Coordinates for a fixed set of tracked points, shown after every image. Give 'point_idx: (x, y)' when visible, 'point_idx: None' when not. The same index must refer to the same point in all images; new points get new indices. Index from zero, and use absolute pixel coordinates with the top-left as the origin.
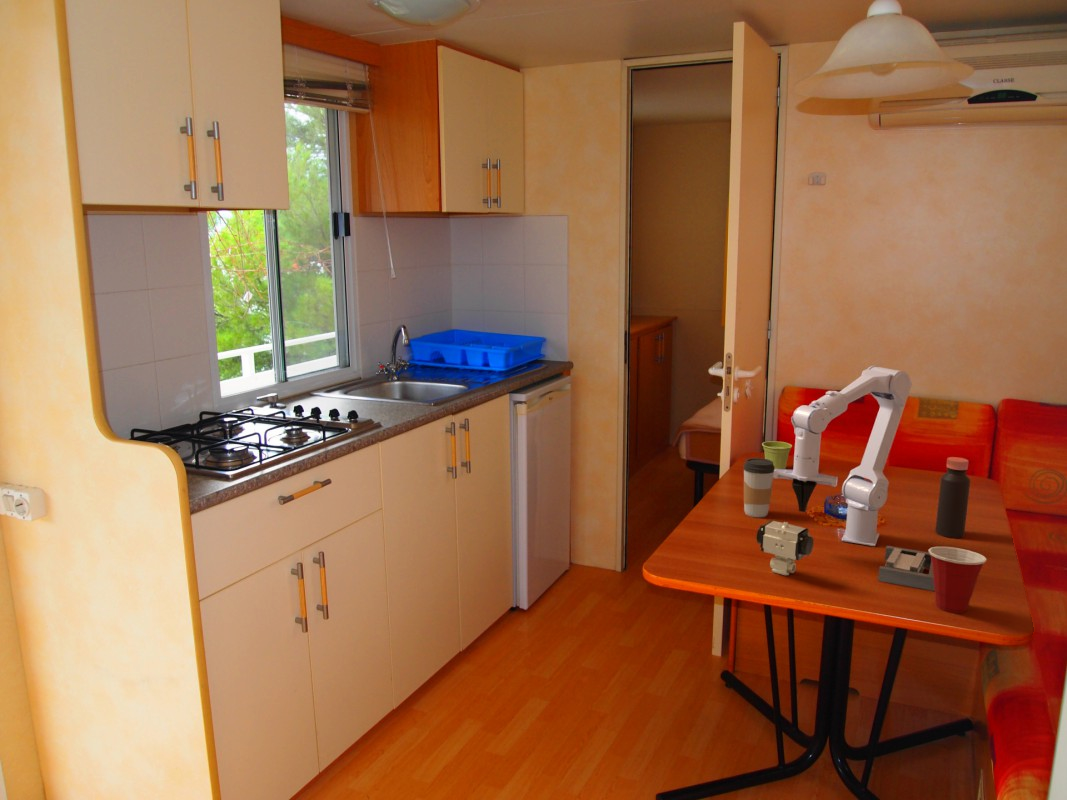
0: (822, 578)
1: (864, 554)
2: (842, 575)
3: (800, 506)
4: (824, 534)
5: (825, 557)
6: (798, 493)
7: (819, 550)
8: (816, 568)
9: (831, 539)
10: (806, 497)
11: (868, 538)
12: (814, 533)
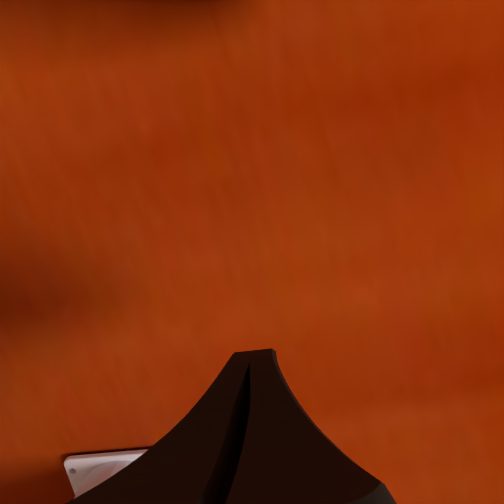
0: (64, 9)
1: (62, 374)
2: (21, 108)
3: (261, 365)
4: None
5: (156, 264)
6: (282, 436)
7: (203, 321)
8: (134, 117)
9: None
10: (194, 425)
11: (83, 483)
12: None
